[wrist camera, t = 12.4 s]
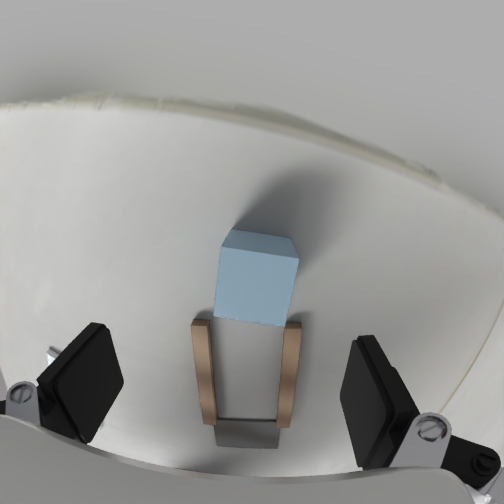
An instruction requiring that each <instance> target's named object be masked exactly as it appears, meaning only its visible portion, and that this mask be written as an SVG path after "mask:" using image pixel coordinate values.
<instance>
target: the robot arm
mask: <svg viewBox="0 0 504 504" xmlns="http://www.w3.org/2000/svg"><path fill="white" fill-rule="evenodd" d="M36 380H37V382H38V384H39V385H38V386H37V387H36V386H35V385H34V384H33V383H31V382H27V381H23V382H19V383H16V384H14V385H13V386H12V387H10V388H9V390H8V392H7V395H6V400H4V401H0V504H504V467H503V468H502V467H501V461H500V457H499V455H498V454H497V453H496V452H495V451H494V450H493V449H491V448H488V447H485V446H482V445H479V444H476V443H473V442H470V441H467V440H464V439H462V438H459V437H456V436H453V435H451V431H452V428H451V425H450V423H449V421H448V420H447V419H446V418H445V417H443V416H442V415H439V414H437V413H432V412H429V413H423V414H420V412H419V410H418V408H417V407H416V405H415V403H414V401H413V399H412V397H411V395H410V393H409V392H408V390H407V388H406V386H405V384H404V382H403V381H402V379H401V377H400V375H399V373H398V372H397V370H396V369H395V368H394V367H392V366H391V364H390V362H389V361H388V359H387V357H386V355H385V354H384V352H383V350H382V348H381V347H380V345H379V343H378V341H377V340H376V338H375V336H374V335H364V336H358V338H357V340H353V342H352V346H351V350H350V355H349V359H348V363H347V368H346V372H345V376H344V380H343V384H342V387H341V391H340V401H341V405H342V408H343V412H344V416H345V419H346V423H347V427H348V431H349V435H350V438H351V442H352V446H353V450H354V454H355V458H356V462H357V466H358V467H362V468H363V471H356V472H348V473H340V474H330V475H317V476H300V477H247V476H231V475H220V474H210V473H202V472H195V471H188V470H182V469H176V468H170V467H165V466H160V465H156V464H151V463H147V462H143V461H138V460H135V459H131V458H127V457H123V456H120V455H116V454H113V453H110V452H107V451H103V450H100V449H97V448H94V447H92V446H89V445H87V443H90V442H91V441H92V439H93V438H94V436H95V434H96V432H97V431H98V429H99V427H100V425H101V423H102V422H103V420H104V418H105V416H106V415H107V413H108V411H109V409H110V408H111V406H112V404H113V402H114V401H115V399H116V397H117V396H118V394H119V392H120V390H121V389H122V387H123V384H124V380H123V376H122V373H121V370H120V366H119V363H118V360H117V356H116V353H115V349H114V345H113V342H112V338H111V334H110V330H109V329H108V328H106V326H105V325H104V324H100V323H94V322H91V323H90V324H89V325H88V326H87V327H86V328H85V329H84V330H83V331H82V332H81V333H80V334H79V335H78V336H77V337H76V338H75V339H74V340H73V341H72V342H71V343H70V344H69V345H68V346H67V347H66V348H65V349H64V350H63V351H62V352H61V353H60V354H59V356H58V357H57V358H56V359H55V360H54V361H53V362H52V363H51V364H50V365H49V366H48V367H47V368H46V369H45V371H44V372H43V373H42V374H41V375H40V376H39V377H38V378H37V379H36Z"/></svg>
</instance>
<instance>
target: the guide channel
mask: <svg viewBox="0 0 504 504" xmlns="http://www.w3.org/2000/svg"><path fill="white" fill-rule="evenodd" d="M191 333H192V342H193V351H194V360H195V368H196V375H197V383H198V390H199V397H200V404H201V410H202V416H203V423H204V424H209V425H214V430H215V437H216V444H217V446H222V447H236V448H264V449H277V447H278V439H279V431H280V428H286V427H290V421H291V414H292V407H293V400H294V393H295V386H296V378H297V370H298V362H299V353H300V344H301V335H302V326H301V322H286V323H285V327H284V338H283V351H282V364H281V376H280V388H279V398H278V409H277V419H276V420H238V419H222V418H218V417H217V408H216V398H215V388H214V377H213V365H212V353H211V340H210V326H209V320H198V319H193V322H192V324H191Z"/></svg>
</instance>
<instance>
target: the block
mask: <svg viewBox="0 0 504 504" xmlns="http://www.w3.org/2000/svg"><path fill="white" fill-rule="evenodd" d="M298 264H299V256H298V254H297V251H296V249H295V247H294V244H293V242H292V239H291V238H287V237H281V236H275V235H268V234H262V233H256V232H249V231H243V230H236V229H231V230H230V232H229V234H228V236H227V237H226V239H225V241H224V243H223V244H222V246H221V252H220V260H219V268H218V277H217V285H216V294H215V303H214V312H213V316H215V317H221V318H227V319H233V320H239V321H246V322H253V323H259V324H267V325H274V326H281V327H285V323H286V319H287V314H288V310H289V306H290V301H291V297H292V292H293V288H294V283H295V278H296V273H297V269H298Z"/></svg>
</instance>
